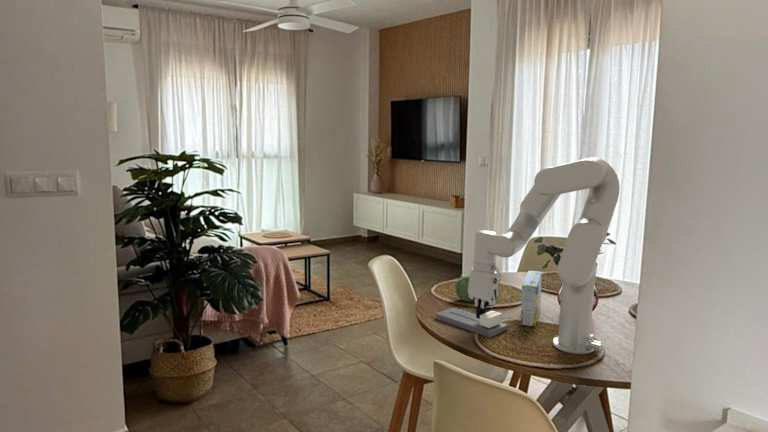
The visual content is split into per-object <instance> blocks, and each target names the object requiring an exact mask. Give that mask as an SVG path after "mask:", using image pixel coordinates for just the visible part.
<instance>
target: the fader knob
mask: <svg viewBox="0 0 768 432" xmlns="http://www.w3.org/2000/svg"><path fill="white" fill-rule="evenodd" d="M502 317H503V313H502V312H499V311H495V310H489V311H486V313H484V314H481V315H480V325H481V326H484V327H487V328H491V327H493V326H496V325H498V324H501V323H503V321H502Z"/></svg>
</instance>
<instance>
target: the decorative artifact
mask: <svg viewBox="0 0 768 432" xmlns="http://www.w3.org/2000/svg"><path fill="white" fill-rule="evenodd" d="M469 277H470V275H463V276H461V277H460V278H458V279H457V280H456V282H455V284H454V291H455V294H456V296H457V298H459V299H460V300H461V301H463V302H472V301H473V300H472V299H471V298H469V294H468V284H469ZM473 302H474V301H473Z"/></svg>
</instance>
